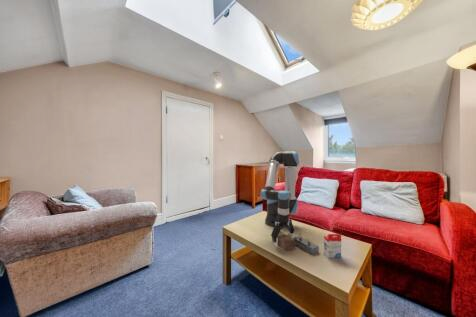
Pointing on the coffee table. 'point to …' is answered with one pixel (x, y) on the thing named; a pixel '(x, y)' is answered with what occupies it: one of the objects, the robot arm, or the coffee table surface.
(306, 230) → the coffee table surface
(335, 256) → the ink box
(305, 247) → the rail
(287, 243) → the wooden block
